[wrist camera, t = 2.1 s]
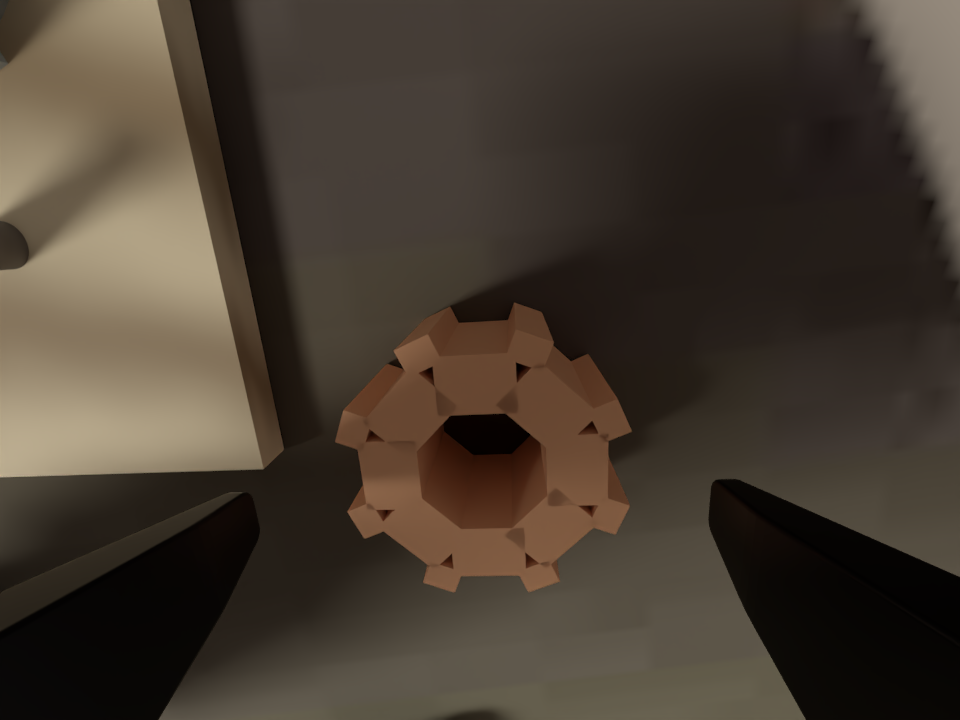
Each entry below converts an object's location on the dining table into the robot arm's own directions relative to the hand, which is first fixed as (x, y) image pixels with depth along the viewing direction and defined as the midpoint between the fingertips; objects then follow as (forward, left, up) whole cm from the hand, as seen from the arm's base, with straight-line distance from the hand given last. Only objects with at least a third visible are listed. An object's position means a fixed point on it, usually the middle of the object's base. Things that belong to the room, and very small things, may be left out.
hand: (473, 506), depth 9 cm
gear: (0, 0, -5) cm, 5 cm away
